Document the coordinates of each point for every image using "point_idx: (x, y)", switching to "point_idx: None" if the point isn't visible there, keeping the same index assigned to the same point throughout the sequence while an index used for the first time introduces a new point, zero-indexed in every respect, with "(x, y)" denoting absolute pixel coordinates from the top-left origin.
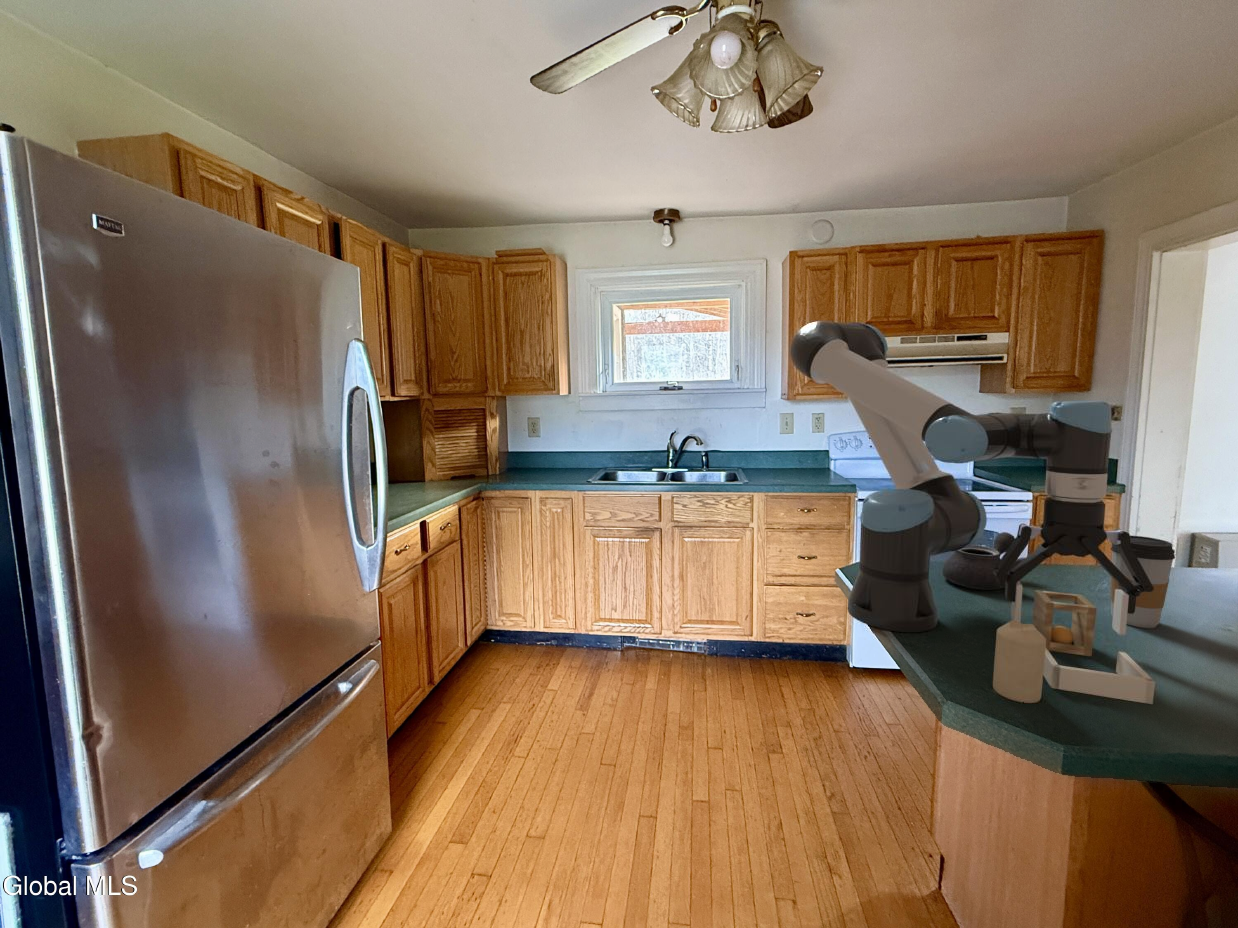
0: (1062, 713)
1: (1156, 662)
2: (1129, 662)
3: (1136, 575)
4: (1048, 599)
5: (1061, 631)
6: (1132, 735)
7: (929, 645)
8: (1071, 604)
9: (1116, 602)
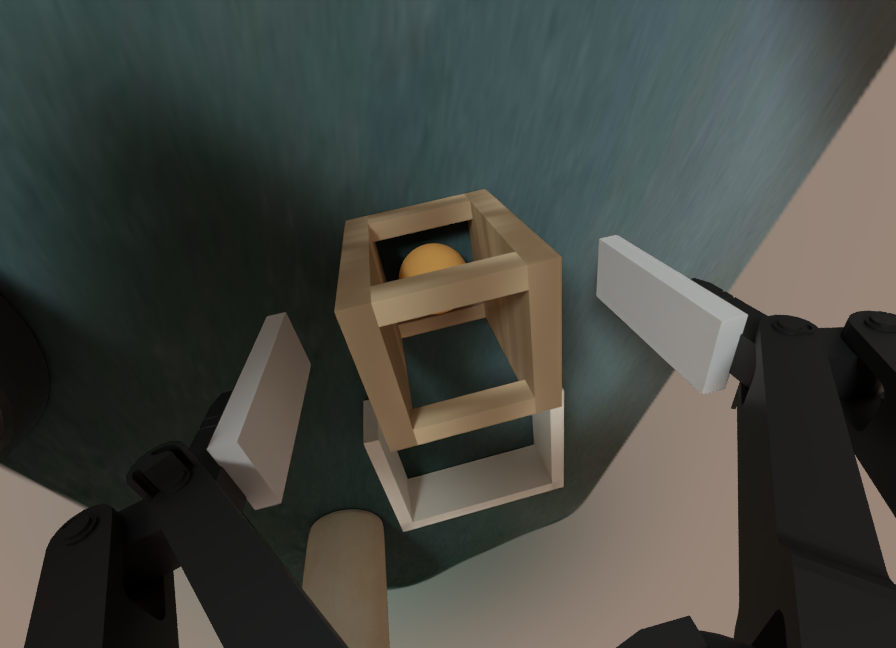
0: (411, 538)
1: (645, 243)
2: (551, 438)
3: (863, 467)
4: (399, 413)
5: (435, 313)
6: (487, 532)
7: (121, 469)
8: (480, 419)
9: (668, 313)
